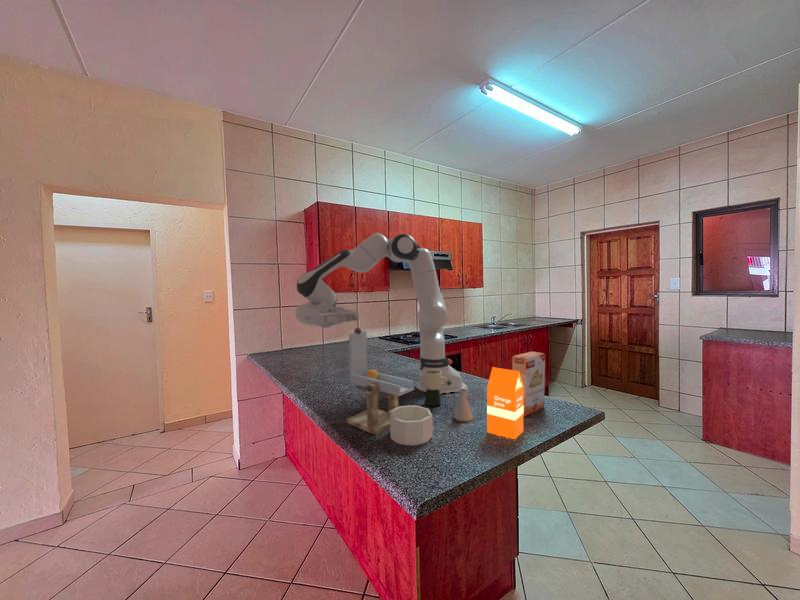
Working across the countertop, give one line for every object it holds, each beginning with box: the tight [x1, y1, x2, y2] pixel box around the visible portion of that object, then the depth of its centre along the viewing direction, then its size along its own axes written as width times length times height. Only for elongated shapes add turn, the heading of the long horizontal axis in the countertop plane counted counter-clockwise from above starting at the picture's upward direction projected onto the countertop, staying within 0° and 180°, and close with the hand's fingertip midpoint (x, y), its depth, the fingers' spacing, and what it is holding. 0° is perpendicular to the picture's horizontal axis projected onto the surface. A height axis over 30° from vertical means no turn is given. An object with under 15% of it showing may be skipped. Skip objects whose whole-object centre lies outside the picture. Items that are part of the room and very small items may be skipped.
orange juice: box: [486, 366, 524, 440], centre depth 99 cm, size 8×9×20 cm
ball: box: [366, 368, 379, 380], centre depth 107 cm, size 4×4×4 cm
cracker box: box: [511, 351, 546, 417], centre depth 116 cm, size 14×6×21 cm, turn 129°
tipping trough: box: [348, 327, 415, 397], centre depth 105 cm, size 23×7×21 cm, turn 50°
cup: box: [389, 404, 434, 447], centre depth 97 cm, size 13×13×7 cm
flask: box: [452, 388, 475, 422], centre depth 110 cm, size 7×7×10 cm
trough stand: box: [345, 383, 399, 436], centre depth 107 cm, size 14×14×15 cm
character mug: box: [418, 369, 446, 407], centre depth 123 cm, size 11×7×13 cm, turn 70°
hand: (348, 318), depth 115 cm, fingers open, 8 cm apart
